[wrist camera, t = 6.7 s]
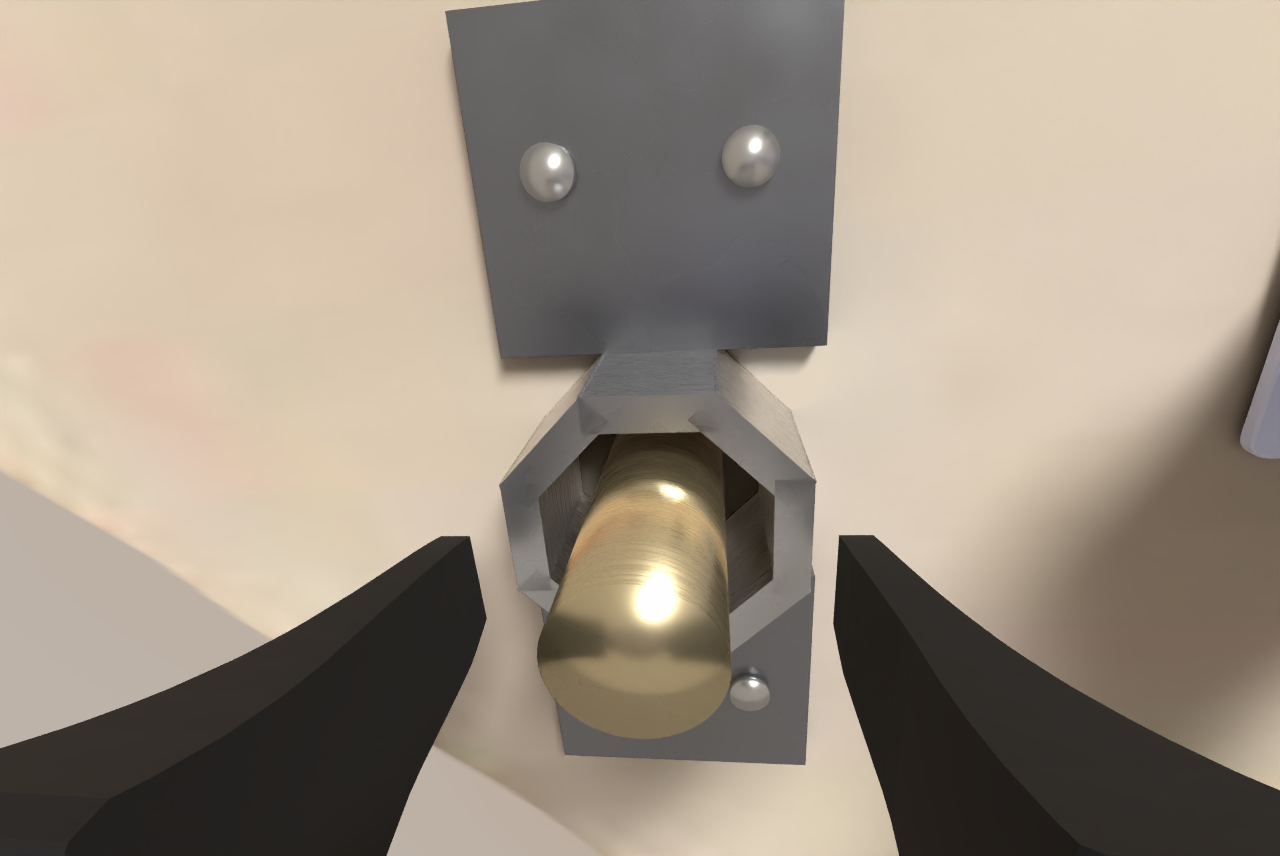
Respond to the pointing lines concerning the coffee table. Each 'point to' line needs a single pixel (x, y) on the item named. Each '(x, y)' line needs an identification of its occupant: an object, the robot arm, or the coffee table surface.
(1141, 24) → the coffee table surface
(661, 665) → the hinge pin
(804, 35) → the hinge
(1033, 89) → the coffee table surface
